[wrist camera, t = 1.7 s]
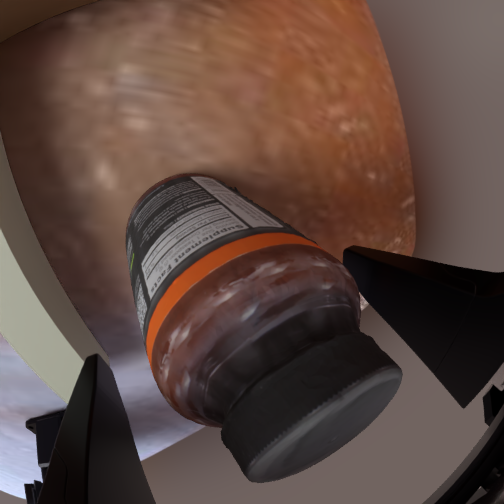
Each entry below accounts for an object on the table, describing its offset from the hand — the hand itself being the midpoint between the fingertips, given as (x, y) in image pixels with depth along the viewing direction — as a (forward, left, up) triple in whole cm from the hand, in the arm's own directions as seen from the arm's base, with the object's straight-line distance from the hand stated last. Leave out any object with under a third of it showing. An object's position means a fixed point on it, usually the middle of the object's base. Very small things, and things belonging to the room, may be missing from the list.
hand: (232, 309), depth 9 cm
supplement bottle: (0, 0, -7) cm, 7 cm away
